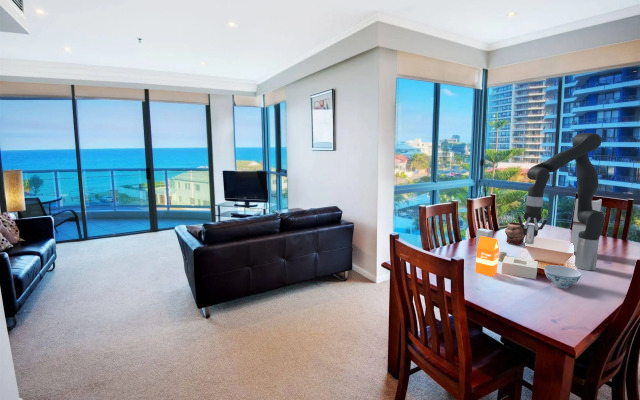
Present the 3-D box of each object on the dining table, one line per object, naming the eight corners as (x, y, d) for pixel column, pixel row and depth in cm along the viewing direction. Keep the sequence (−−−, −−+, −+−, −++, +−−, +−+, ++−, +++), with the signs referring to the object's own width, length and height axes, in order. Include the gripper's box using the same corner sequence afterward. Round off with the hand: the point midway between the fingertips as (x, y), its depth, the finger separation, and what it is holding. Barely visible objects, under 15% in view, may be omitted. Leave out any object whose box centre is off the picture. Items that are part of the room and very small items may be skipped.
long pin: (533, 242, 187) (536, 225, 185) (533, 244, 184) (535, 226, 182) (525, 241, 189) (527, 224, 188) (524, 243, 186) (526, 225, 184)
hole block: (536, 271, 188) (538, 261, 187) (535, 279, 178) (537, 268, 177) (504, 266, 197) (504, 256, 196) (501, 272, 187) (502, 262, 186)
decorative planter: (511, 238, 250) (512, 219, 248) (529, 241, 241) (531, 222, 239) (500, 243, 237) (501, 224, 235) (519, 247, 228) (521, 227, 226)
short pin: (506, 260, 206) (507, 252, 205) (505, 262, 202) (506, 254, 201) (498, 259, 208) (499, 251, 207) (498, 261, 205) (498, 253, 204)
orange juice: (480, 268, 193) (483, 234, 190) (497, 272, 187) (500, 237, 184) (475, 272, 188) (477, 237, 184) (491, 276, 182) (495, 240, 178)
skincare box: (492, 252, 219) (494, 230, 216) (487, 254, 216) (488, 232, 213) (480, 249, 226) (481, 227, 223) (474, 251, 223) (476, 229, 220)
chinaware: (580, 294, 160) (582, 279, 159) (542, 287, 168) (544, 272, 167) (577, 283, 173) (579, 268, 172) (542, 277, 181) (544, 263, 179)
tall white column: (589, 258, 208) (597, 201, 202) (569, 253, 216) (575, 199, 209) (594, 254, 215) (602, 199, 209) (573, 250, 223) (580, 197, 217)
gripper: (550, 205, 182) (545, 236, 185) (519, 202, 190) (515, 232, 193) (549, 207, 176) (545, 239, 179) (518, 204, 184) (514, 234, 187)
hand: (530, 235), depth 186 cm, fingers closed on long pin, 4 cm apart
